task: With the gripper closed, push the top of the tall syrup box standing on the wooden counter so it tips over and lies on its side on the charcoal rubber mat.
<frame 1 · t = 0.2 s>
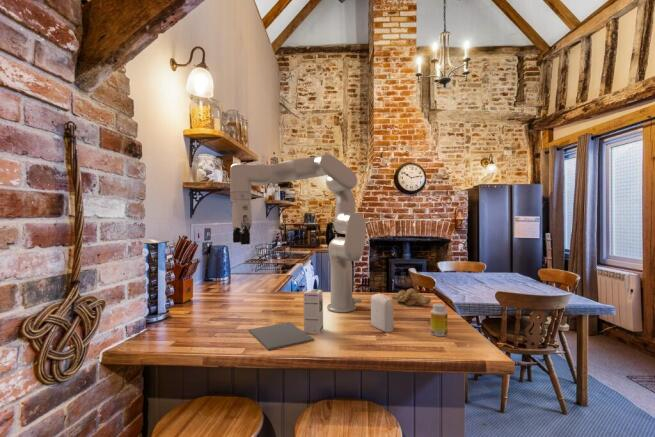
hand: (241, 243, 127), 31 cm above the breakfast bar, tool pointing down, fingers open, 9 cm apart
supplement bottle: (438, 334, 118), on the breakfast bar
mat: (280, 335, 117), on the breakfast bar
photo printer: (381, 328, 125), on the breakfast bar
ginger root: (409, 304, 159), on the breakfast bar
syrup box: (313, 331, 122), on the breakfast bar
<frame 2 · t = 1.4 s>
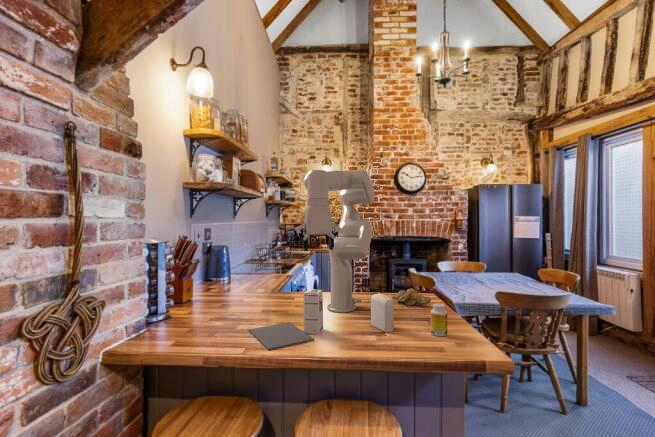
hand: (318, 250, 126), 28 cm above the breakfast bar, tool pointing down, fingers open, 9 cm apart
nothing on the breakfast bar moved.
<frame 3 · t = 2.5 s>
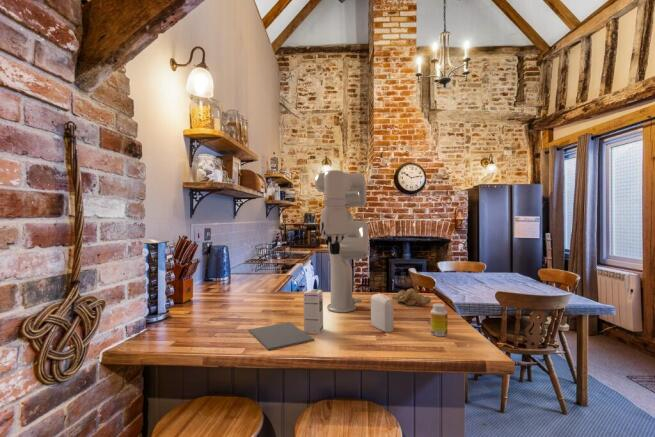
hand: (334, 253, 126), 27 cm above the breakfast bar, tool pointing down, fingers closed
nothing on the breakfast bar moved.
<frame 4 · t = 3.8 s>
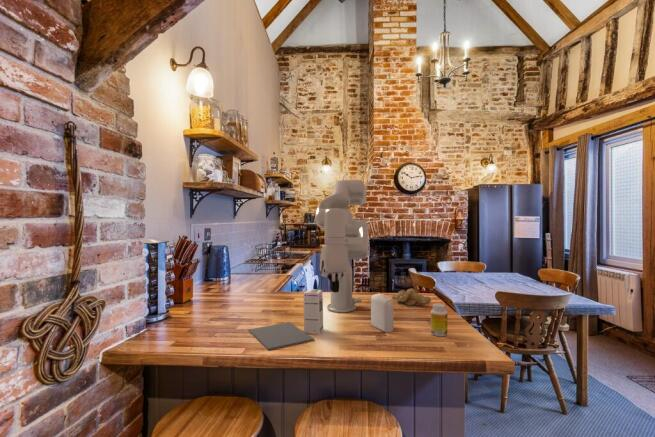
hand: (334, 291, 126), 13 cm above the breakfast bar, tool pointing down, fingers closed
nothing on the breakfast bar moved.
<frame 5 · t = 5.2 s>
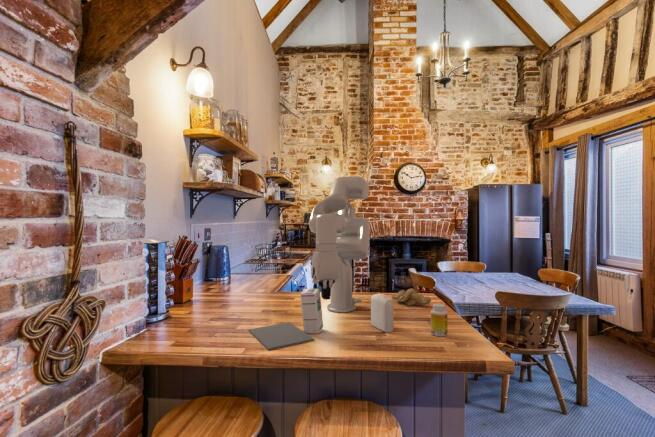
hand: (326, 298, 124), 11 cm above the breakfast bar, tool pointing down, fingers closed
syrup box: (313, 330, 122), on the breakfast bar, touching gripper
everything else where it was.
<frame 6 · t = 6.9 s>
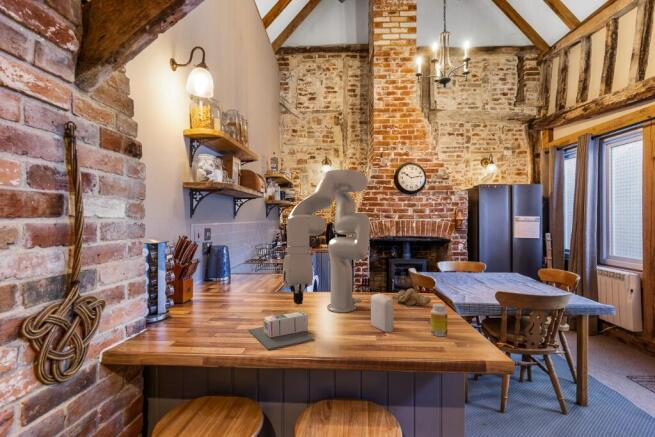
hand: (298, 303, 119), 11 cm above the breakfast bar, tool pointing down, fingers closed
syrup box: (305, 320, 123), point 3 cm above the breakfast bar, touching mat
everything else where it was.
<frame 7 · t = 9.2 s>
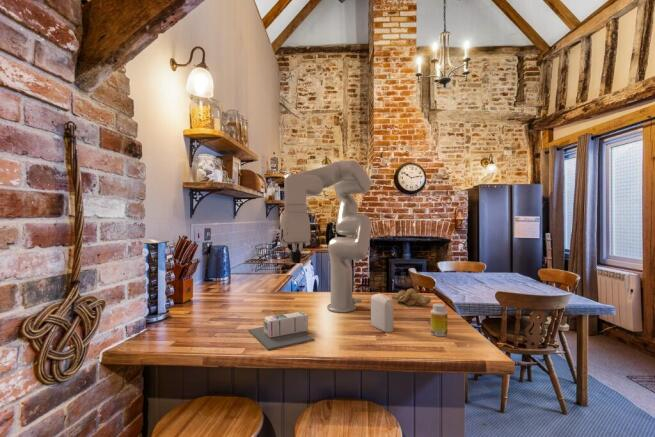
hand: (295, 262, 118), 25 cm above the breakfast bar, tool pointing down, fingers closed
nothing on the breakfast bar moved.
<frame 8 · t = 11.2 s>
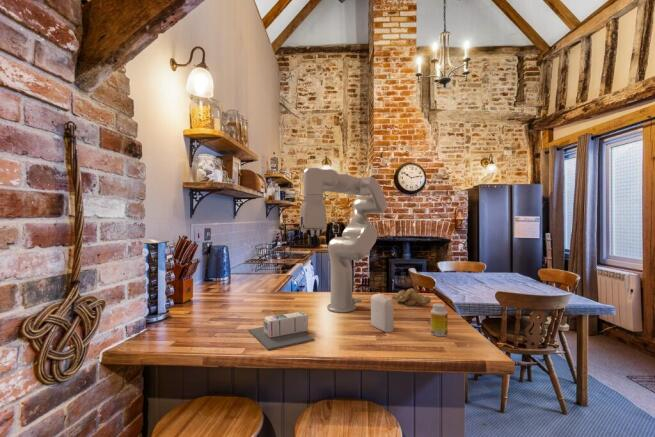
hand: (313, 246, 134), 29 cm above the breakfast bar, tool pointing down, fingers closed
nothing on the breakfast bar moved.
at the end: syrup box tilted 89°; syrup box touching mat; syrup box inside the target area (7.3 cm from its centre), point 3.4 cm above the breakfast bar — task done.
